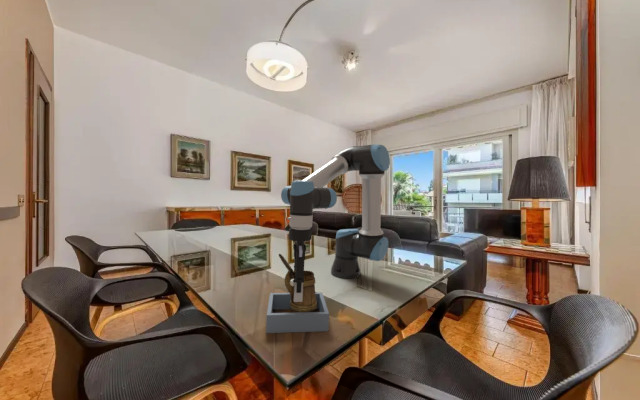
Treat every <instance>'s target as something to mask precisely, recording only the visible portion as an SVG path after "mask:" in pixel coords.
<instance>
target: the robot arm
mask: <svg viewBox="0 0 640 400" xmlns="http://www.w3.org/2000/svg"><path fill="white" fill-rule="evenodd" d="M330 159H331V160H330V161H329V162H327V163H326V164H324V165H322V166H321V167H320V168H318V169H316V170H315V171H313V172H312V173H311V174H310V175H308V176H306V177H305V178H303V179H302V180H298V179H297V180H296V179H295V180H293V181H292V182H291V185H287V186H284V187H283V189H282V190H281V192H280V196H281V197H280V199H281V200H282V202H283V203H284V204H285V205H289V217H287V220H288V221H289V222H288V223H289V228H288V239H289V240H290V241H293V242H294V244H293V256H294V257H293V259H294V263H293V268H294V269H293V271H295V280H294V279H292V283H293V285H292V286H294V302H302V299H303V282H304V271H305V259H306V251H307V246H306V244H305V242H308V241H311V240H312V239H313V238H312V236H313V235H312V232H313V229H312V227H313V219H314V218H313V217H314V215H313V214H314V212H313V211H314V210H317V209H318V210H319V209H323V210H324V209H325V210H326V209H330V208H333V207H334V206H335V205H336V204H337V200H338V196H337V193H336V191H335V190H334V189H333V188H330V187H325V186H326V185H327V186H328V184H329V183H331V182H332V181H334V180H335V179H337V177H339V176H340V175H344V174H345V175H346V173H348V172H352V171H354V172H355V171H356V172H357V171H358V175H359V176H360V178H362V179H361V181H362V182H361V183H362V184H361V185H362V186H361V187H362V189H361V191H362V192H361V193H362V194H361V198H362V199H361V200H362V201H361V204H362V205H361V216H362V217H361V218H362V219H361V229H359V228H345V229H344V228H343V229H339V230H337V231H336V235H335V251H334V260H333V262H332V265H331V268H330V273H331V275H332V276H333V277H337V278H341V279H356V278H358V277H357V276H359V275H360V276H361V268H360V264H359V261H358V260H359V259H358V258H362V259H364V260H365V259H366V260H369V261H374V262H380V261H383V259H384V258H385V257H386V255H387V253H388V249H389V240H388V239H389V238H387V237H386V236H385V233H384V230H383V229H381V222H382V221H381V219H382V218H381V215H382V214H381V213H382V212H381V209H382V203H381V202H382V178H383V177H384V176H385V172H386V171H388V169H389V168H390V164H391V158H390V153H389V151H388V149H387V147H386V146H385V145H383V144H375V143H374V144H366V145H365V144H364V145H356V146H355V145H354V146H351V147H348V148H345V149H343V150H342V151H340V152H338V153H337V154H335V155H334V156H332V157H331V158H330ZM360 276H359V277H360ZM355 277H356V278H355ZM294 282H295V283H294Z"/></svg>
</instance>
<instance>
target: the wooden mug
mask: <svg viewBox="0 0 640 400" xmlns="http://www.w3.org/2000/svg"><path fill="white" fill-rule="evenodd" d="M278 257H279V259H280V260H281V262H282V264H283V266H285V268H286V269H287V272H286V274H285V276H284V286H285V288H286V290H287V291H288V293H290V295H291V301H290V307H291V308H292V309H291V310H293V311H294V312H296V313H299V312H314V311H315V310H317V309H316V308H317V301H316V296H315V293H316V286H315V284H316V278H315V277H316V276H315V273H314V272H313V271H312V270H304V282H303V299H302V302H294V286H293V285H292V284H291V281H292V280H295V271H294V269H293V268H292V266H291V265H290V264H289V262H288V261H287V260H286V258H285V257H284V256H283V254H281V253H278ZM294 283H295V282H294Z"/></svg>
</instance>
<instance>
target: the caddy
mask: <svg viewBox="0 0 640 400" xmlns="http://www.w3.org/2000/svg"><path fill="white" fill-rule="evenodd" d="M315 296H316V301H317V308H316V309H315V310H317V309H318V311H310V312H274V310H293V309H292V308H291V307H290V301H291V295H290V293H289V292H270V293H269V297H268V305H267V310H266V322H265V323H266V324H265V326H266V327H265V331H266V332H265V334H276V333H277V334H281V333H283V334H284V333H309V332H311V333H313V332H315V333H316V332H329V327H330V326H329V324H330V312H329V310H328V305H327V302H326V300H325V298H324V297H325V296H324V294H323V292H318V291H317V292H315Z"/></svg>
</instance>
